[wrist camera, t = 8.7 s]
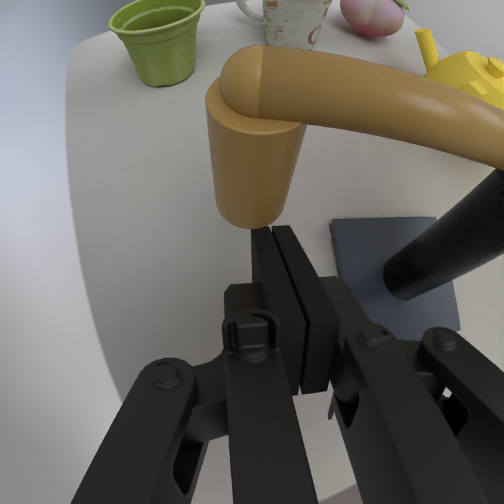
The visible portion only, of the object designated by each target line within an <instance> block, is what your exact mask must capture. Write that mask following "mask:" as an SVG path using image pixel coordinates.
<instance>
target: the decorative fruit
mask: <svg viewBox="0 0 504 504" xmlns="http://www.w3.org/2000/svg"><path fill="white" fill-rule="evenodd" d="M403 7H404V8H405V9H407V10H408V11H409V9H408V6H407V5H406V3H405V2H404V0H341V1H340V8H341V12H342V14H343V16H344V18H345V19H346V20H347V21H348V23H349V24H350V25H351V26H352V27H353V28H354V29H356V30H357V31H358V32H359V33H361V34H362V35H364V36H368V37H383V36H388V35H392V34H394V33H396V32H397V31H398V30H399V29H400V28H401V27H402V24H403V21H404V10H403Z"/></svg>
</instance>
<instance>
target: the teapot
mask: <svg viewBox="0 0 504 504" xmlns="http://www.w3.org/2000/svg"><path fill="white" fill-rule="evenodd" d="M414 32H415V35H416V38H417V41H418V44H419V47H420V50H421V54H422V57H423V60H424V64H425V67H426V71H427V73H426V75H425V76H424V78H427V79H430V80H433V81H436V82H438V83H441V84H444V85H447V86H449V87H452V88H454V89H457V90H459V91H462V92H464V93H467V94H469V95H471V96H474V97H476V98H478V99H480V100H483V101H485V102H487V103H489V104H491V105H493V106H495V107H497V108H499V109H501V110H503V111H504V63H502V62H501V61H500V60H499V59H498V58H497V59H495V58H493V57H489V58H488V59H486V58H485V57H483V56H481V55H479V54H477V53H475V52H472V51H465V52H460V53H457V54H454V55H451V56H449V57H446V58H444V59H442V60H440V61H439V59H438V55H437V51H436V47H435V43H434V40H433V36H432V33H431V30H430V29H419V30H415V31H414Z"/></svg>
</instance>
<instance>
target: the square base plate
mask: <svg viewBox="0 0 504 504" xmlns="http://www.w3.org/2000/svg"><path fill="white" fill-rule="evenodd" d="M330 229H331V234H332V240H333V245H334V251H335V257H336V263H337V269H338V275H339V279H341V280H343V281H344V282H346V283H347V285H348V286H349V288H350V289H351V291H352V293H353V294H354V296H355V297H356V300H358V302H359V303H360V305H361V306H362V308H363V309H364V311H365V312H366V314H367V316H368V317H369V319H370V320H371V322H372V323H376V324H380V325H382V326H384V327H386V328H388V329H389V330H390V331H391V332H392V333H393V335H394V336H395V338H396V339H400V340H413V341H419V340H421V339H422V336H423V333H424V332H425V331H426V330H427V329H428V328H432V327H445V328H448V329H451V330H453V331H459V330H461V329H460V322H459V315H458V309H457V303H456V298H455V293H454V288H453V283H452V280H453V279H456V278H458V277H460V276H462V275H464V274H466V273H468V272H470V271H472V270H474V269H475V268H477V267H479V266H481V265H483V264H485V263H487V262H489V261H491V260H493V259H494V258H496V257H498V256H500V255H502V254H503V253H504V192H503V190H502V187H501V185H500V182H499V178H498V174H497V168H496V169H495V170H494V171H493V172H492V173H491V174H490V175H488V176H487V177H486V178H485V179H484V180H483V181H482V182H481V183H480V184H479V185H478V186H477V187H475V188H474V189H473V190H472V191H471V192H470V193H469V194H468V195H466V196H465V197H464V198H463V199H462V200H461V201H460V202H458V203H457V204H456V205H455V206H454V207H453V208H452V209H450V210H449V211H448V212H447V213H446V214H445V215H443V216H442V217H441V218H440V219H439V220H437V219H436V217H394V218H356V219H333V220H332V222H331V223H330Z"/></svg>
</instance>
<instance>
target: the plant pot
mask: <svg viewBox="0 0 504 504" xmlns="http://www.w3.org/2000/svg"><path fill="white" fill-rule="evenodd" d="M204 6H205V2H204V0H137V1H135V2H133V3H130V4H128V5H127V6H125V7H123V8H122V9H120V10H119V11H117V12H116V13H115V14H114V15H113V16H112V17H111V19H110V21H109V28H110V30H111V31H112V32H114V33H116V34H117V35H118V37H119V38H120V39H121V40H122V41H123V43H124V45H125V47H126V49H127V51H128V53H129V55H130V57H131V59H132V61H133V63H134V65H135V67H136V69H137V72H138V74H139V75H140V77H141V79H142V81H143V82H144V83H145V84H147V85H149V86H153V87H158V86H160V85H174V84H177V83H179V82H181V81H183V80H184V79H186V78H187V77H188V76H190V74H191V73H192V72H193V68H194V62H195V43H196V30H197V23H198V21H199V18H200V13H201V12H202V11H203V9H204Z"/></svg>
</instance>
